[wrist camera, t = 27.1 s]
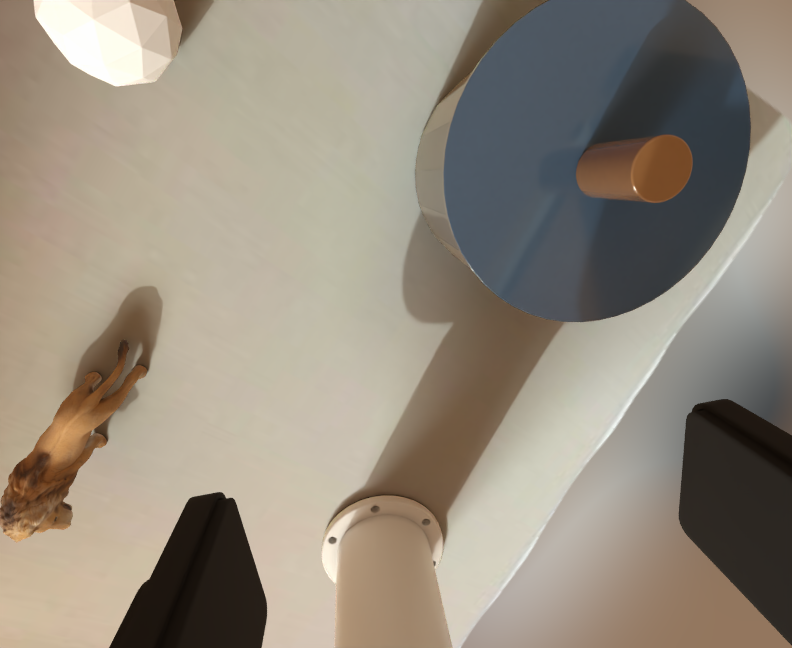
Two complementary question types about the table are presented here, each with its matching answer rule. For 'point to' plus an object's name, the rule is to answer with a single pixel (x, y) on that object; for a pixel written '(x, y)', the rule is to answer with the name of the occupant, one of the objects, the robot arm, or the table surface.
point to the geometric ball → (114, 36)
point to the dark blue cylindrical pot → (436, 170)
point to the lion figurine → (61, 455)
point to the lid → (595, 155)
